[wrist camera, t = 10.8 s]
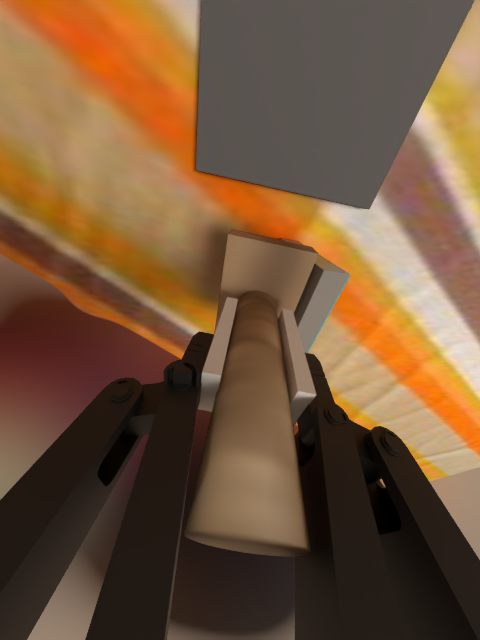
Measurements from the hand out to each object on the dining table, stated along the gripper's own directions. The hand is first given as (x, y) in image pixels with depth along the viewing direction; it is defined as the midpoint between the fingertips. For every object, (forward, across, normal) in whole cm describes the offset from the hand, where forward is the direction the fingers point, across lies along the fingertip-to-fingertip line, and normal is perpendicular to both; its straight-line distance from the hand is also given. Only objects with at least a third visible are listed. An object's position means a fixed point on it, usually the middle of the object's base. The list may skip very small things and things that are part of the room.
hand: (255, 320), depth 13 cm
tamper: (+4, 0, 0) cm, 4 cm away
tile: (+10, +2, 0) cm, 10 cm away
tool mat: (+10, 0, +15) cm, 18 cm away
